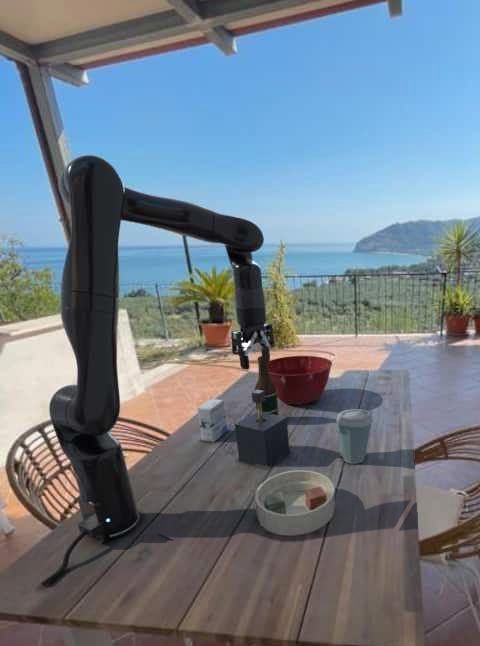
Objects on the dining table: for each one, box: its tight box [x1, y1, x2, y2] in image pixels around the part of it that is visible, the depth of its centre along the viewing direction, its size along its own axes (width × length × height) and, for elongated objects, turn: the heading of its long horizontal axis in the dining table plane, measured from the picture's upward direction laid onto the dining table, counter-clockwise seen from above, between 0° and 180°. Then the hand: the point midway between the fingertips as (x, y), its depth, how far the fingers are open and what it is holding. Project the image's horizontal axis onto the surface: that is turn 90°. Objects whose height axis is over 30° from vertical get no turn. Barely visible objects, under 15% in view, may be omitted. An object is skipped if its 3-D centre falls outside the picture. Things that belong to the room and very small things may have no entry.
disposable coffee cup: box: [336, 408, 374, 465], centre depth 114 cm, size 11×11×15 cm
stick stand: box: [234, 411, 290, 468], centre depth 115 cm, size 11×11×12 cm
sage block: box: [265, 492, 286, 514], centre depth 91 cm, size 4×4×4 cm
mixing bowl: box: [268, 355, 333, 406], centre depth 160 cm, size 28×28×16 cm
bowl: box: [254, 469, 336, 537], centre depth 92 cm, size 18×18×6 cm
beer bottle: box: [254, 355, 279, 416], centre depth 138 cm, size 8×8×24 cm
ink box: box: [197, 398, 228, 443], centre depth 129 cm, size 9×5×12 cm, turn 168°
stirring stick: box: [251, 390, 266, 423], centre depth 114 cm, size 3×3×21 cm
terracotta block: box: [305, 486, 326, 511], centre depth 93 cm, size 4×4×4 cm
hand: (256, 365), depth 107 cm, fingers open, 8 cm apart
